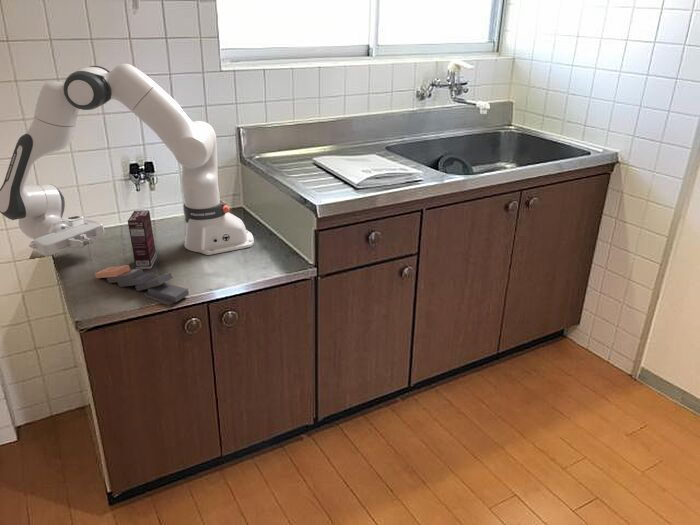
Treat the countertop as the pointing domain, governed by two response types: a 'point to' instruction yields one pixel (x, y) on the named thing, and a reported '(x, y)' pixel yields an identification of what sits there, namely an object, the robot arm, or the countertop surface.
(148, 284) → the domino
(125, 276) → the domino
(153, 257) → the supplement box
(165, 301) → the domino
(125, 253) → the countertop surface
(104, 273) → the domino
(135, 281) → the domino
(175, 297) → the domino
